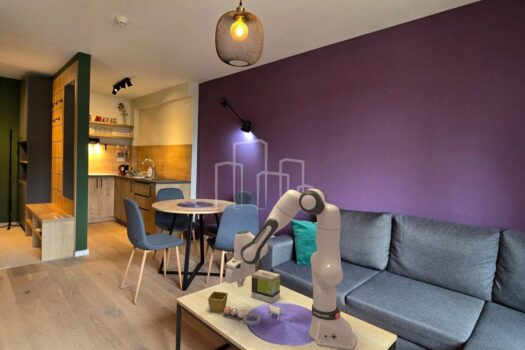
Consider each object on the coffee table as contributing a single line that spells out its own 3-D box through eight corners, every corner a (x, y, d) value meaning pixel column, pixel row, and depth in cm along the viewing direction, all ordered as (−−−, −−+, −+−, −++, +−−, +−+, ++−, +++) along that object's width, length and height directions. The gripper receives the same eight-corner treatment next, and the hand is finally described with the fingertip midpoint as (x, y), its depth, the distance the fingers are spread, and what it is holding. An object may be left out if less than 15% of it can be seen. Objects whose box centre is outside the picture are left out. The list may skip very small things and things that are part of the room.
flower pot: (222, 316, 161) (222, 299, 160) (207, 314, 162) (207, 298, 162) (227, 308, 169) (228, 292, 169) (213, 306, 171) (213, 291, 170)
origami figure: (287, 318, 160) (288, 309, 159) (277, 324, 154) (277, 315, 154) (272, 310, 168) (272, 301, 168) (261, 315, 163) (261, 306, 162)
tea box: (280, 297, 184) (280, 273, 183) (271, 304, 175) (272, 279, 174) (259, 291, 192) (260, 268, 191) (250, 297, 183) (251, 273, 182)
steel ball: (239, 315, 160) (239, 307, 160) (235, 318, 157) (235, 311, 156) (232, 313, 162) (232, 306, 162) (229, 316, 158) (229, 309, 158)
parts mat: (246, 317, 160) (246, 315, 160) (240, 323, 154) (240, 321, 154) (228, 312, 165) (228, 310, 165) (221, 318, 158) (221, 316, 158)
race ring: (262, 320, 157) (262, 316, 157) (255, 328, 149) (255, 324, 149) (248, 316, 161) (248, 312, 160) (240, 324, 153) (240, 320, 153)
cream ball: (246, 316, 158) (246, 309, 158) (242, 320, 155) (242, 313, 155) (239, 315, 160) (239, 307, 160) (235, 318, 156) (236, 311, 156)
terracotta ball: (232, 313, 162) (232, 306, 162) (228, 316, 158) (228, 309, 158) (226, 311, 164) (226, 304, 163) (222, 315, 160) (222, 307, 160)
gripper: (250, 255, 170) (248, 279, 170) (223, 264, 154) (222, 290, 155) (258, 258, 166) (257, 282, 166) (232, 267, 150) (231, 294, 151)
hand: (240, 286), depth 160 cm, fingers closed
